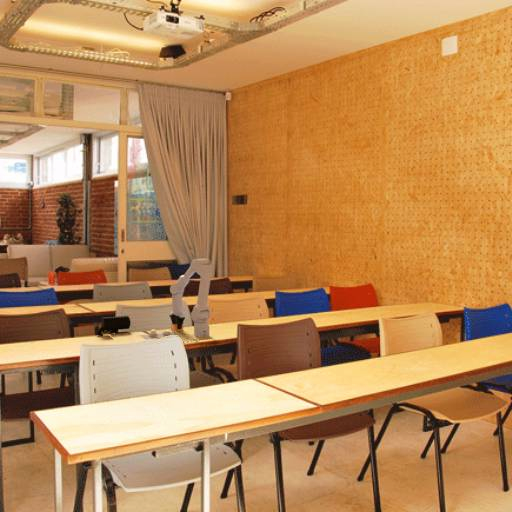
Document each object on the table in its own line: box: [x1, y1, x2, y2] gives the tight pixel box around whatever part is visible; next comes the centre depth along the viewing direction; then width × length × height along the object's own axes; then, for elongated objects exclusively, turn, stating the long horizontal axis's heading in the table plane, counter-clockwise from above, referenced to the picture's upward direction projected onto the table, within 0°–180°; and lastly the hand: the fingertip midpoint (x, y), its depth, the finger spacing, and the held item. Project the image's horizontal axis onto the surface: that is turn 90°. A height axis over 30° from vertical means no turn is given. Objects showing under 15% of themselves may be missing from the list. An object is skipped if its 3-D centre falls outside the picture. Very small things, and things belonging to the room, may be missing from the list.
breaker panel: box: [139, 331, 181, 340], centre depth 355 cm, size 12×20×3 cm, turn 118°
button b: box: [149, 329, 157, 334], centre depth 353 cm, size 2×2×2 cm
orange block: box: [170, 323, 184, 333], centre depth 370 cm, size 5×5×4 cm
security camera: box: [96, 315, 131, 337], centre depth 362 cm, size 7×18×10 cm, turn 115°
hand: (177, 327), depth 370 cm, fingers open, 7 cm apart
